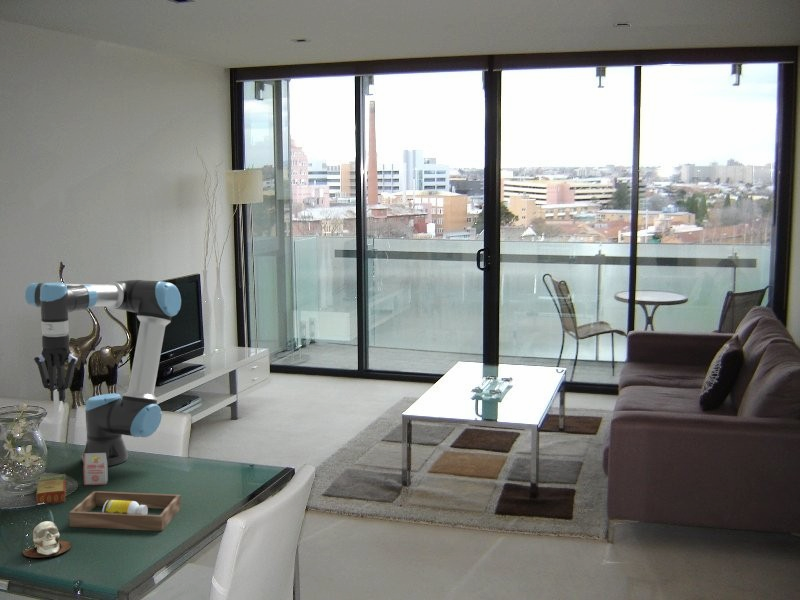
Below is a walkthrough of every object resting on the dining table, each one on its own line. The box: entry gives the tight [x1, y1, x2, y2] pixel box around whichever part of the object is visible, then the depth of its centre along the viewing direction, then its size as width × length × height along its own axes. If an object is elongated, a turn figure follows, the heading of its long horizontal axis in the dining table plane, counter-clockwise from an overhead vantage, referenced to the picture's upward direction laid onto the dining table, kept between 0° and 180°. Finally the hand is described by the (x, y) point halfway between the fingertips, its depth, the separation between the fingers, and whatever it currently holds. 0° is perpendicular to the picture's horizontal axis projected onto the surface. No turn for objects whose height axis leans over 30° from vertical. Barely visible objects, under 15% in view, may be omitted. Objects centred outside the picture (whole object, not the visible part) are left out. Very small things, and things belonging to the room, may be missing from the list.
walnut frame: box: [68, 490, 182, 532], centre depth 256 cm, size 17×27×4 cm, turn 86°
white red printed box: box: [82, 453, 109, 486], centre depth 283 cm, size 4×7×10 cm, turn 98°
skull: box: [22, 520, 72, 559], centre depth 233 cm, size 12×10×10 cm
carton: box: [35, 473, 68, 504], centre depth 272 cm, size 8×16×4 cm, turn 20°
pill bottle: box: [101, 500, 149, 515], centre depth 251 cm, size 6×6×12 cm
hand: (58, 410), depth 264 cm, fingers closed
